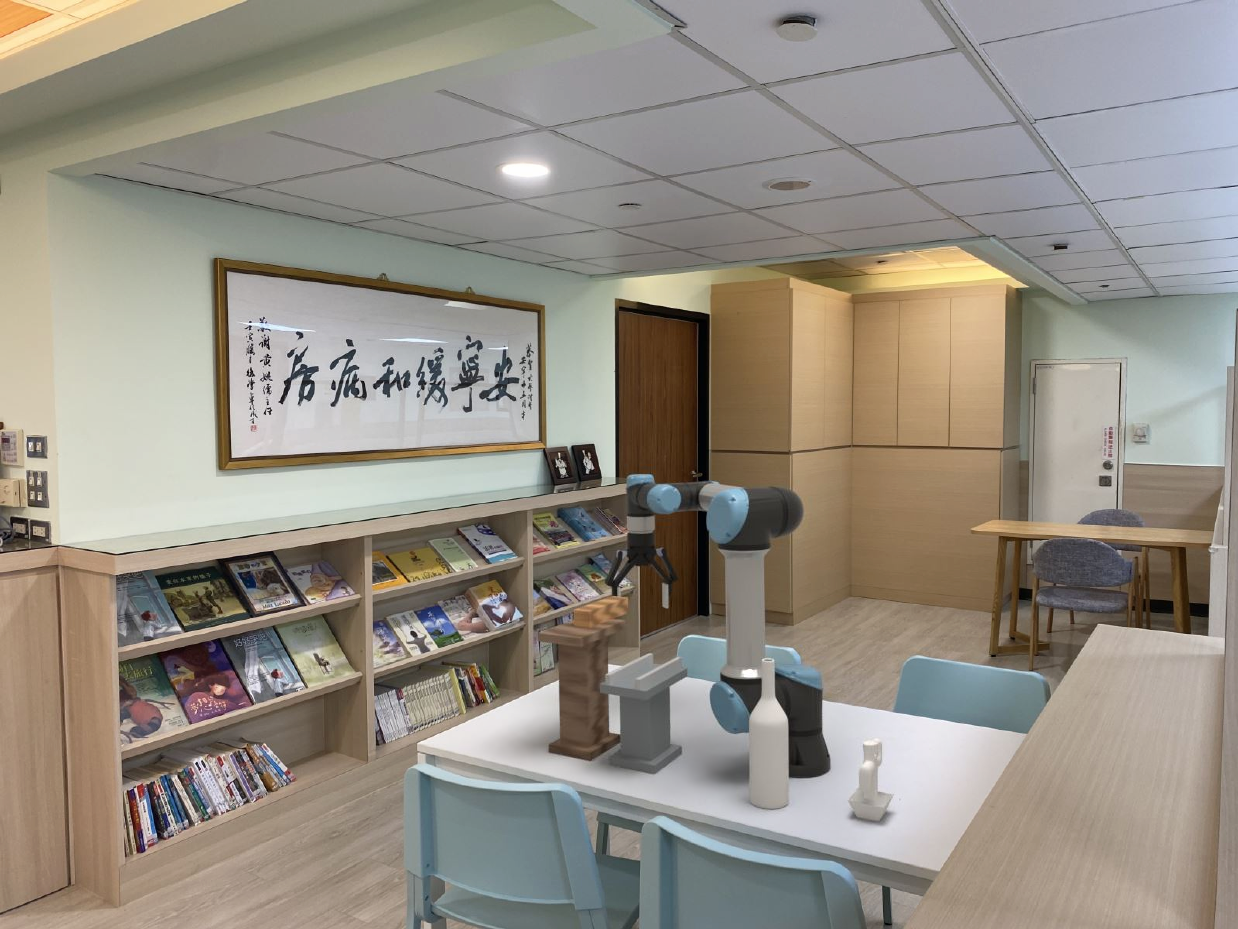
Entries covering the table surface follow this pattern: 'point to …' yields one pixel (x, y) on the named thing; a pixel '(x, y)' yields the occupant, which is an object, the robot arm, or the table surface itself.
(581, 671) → the tall stand
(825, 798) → the table surface
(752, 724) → the bottle
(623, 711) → the cradle
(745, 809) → the table surface
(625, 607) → the wooden grain block
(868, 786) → the figurine
